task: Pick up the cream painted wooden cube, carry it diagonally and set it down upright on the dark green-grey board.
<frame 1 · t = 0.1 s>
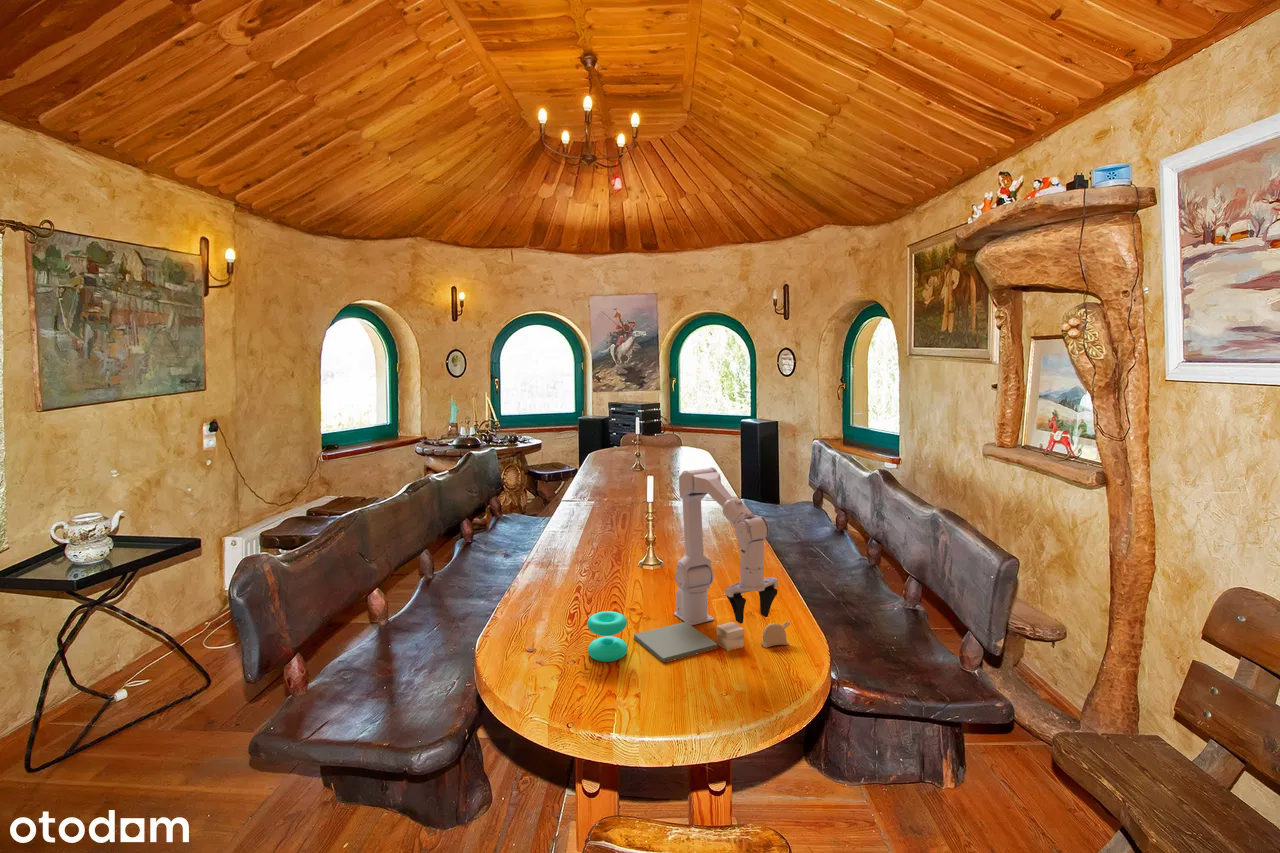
hand: (752, 618, 167), 10 cm above the table, tool pointing down, fingers open, 7 cm apart
donuts: (607, 655, 171), on the table
cream cube: (730, 645, 175), on the table
decorative ornament: (776, 644, 176), on the table
target board: (675, 643, 177), on the table
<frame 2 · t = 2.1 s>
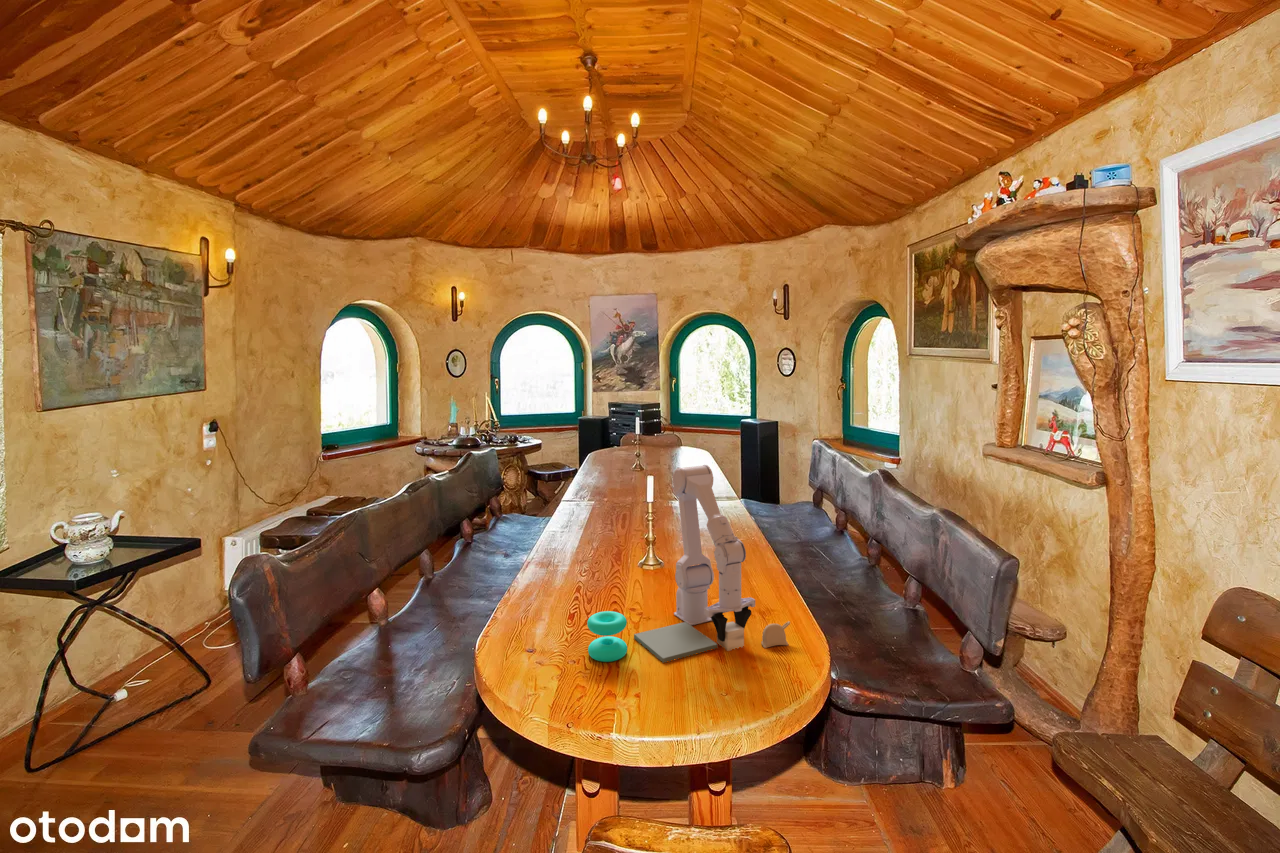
hand: (730, 637, 175), 2 cm above the table, tool pointing down, fingers closed on cream cube, 5 cm apart
cream cube: (730, 645, 175), on the table, touching gripper
everything else where it was.
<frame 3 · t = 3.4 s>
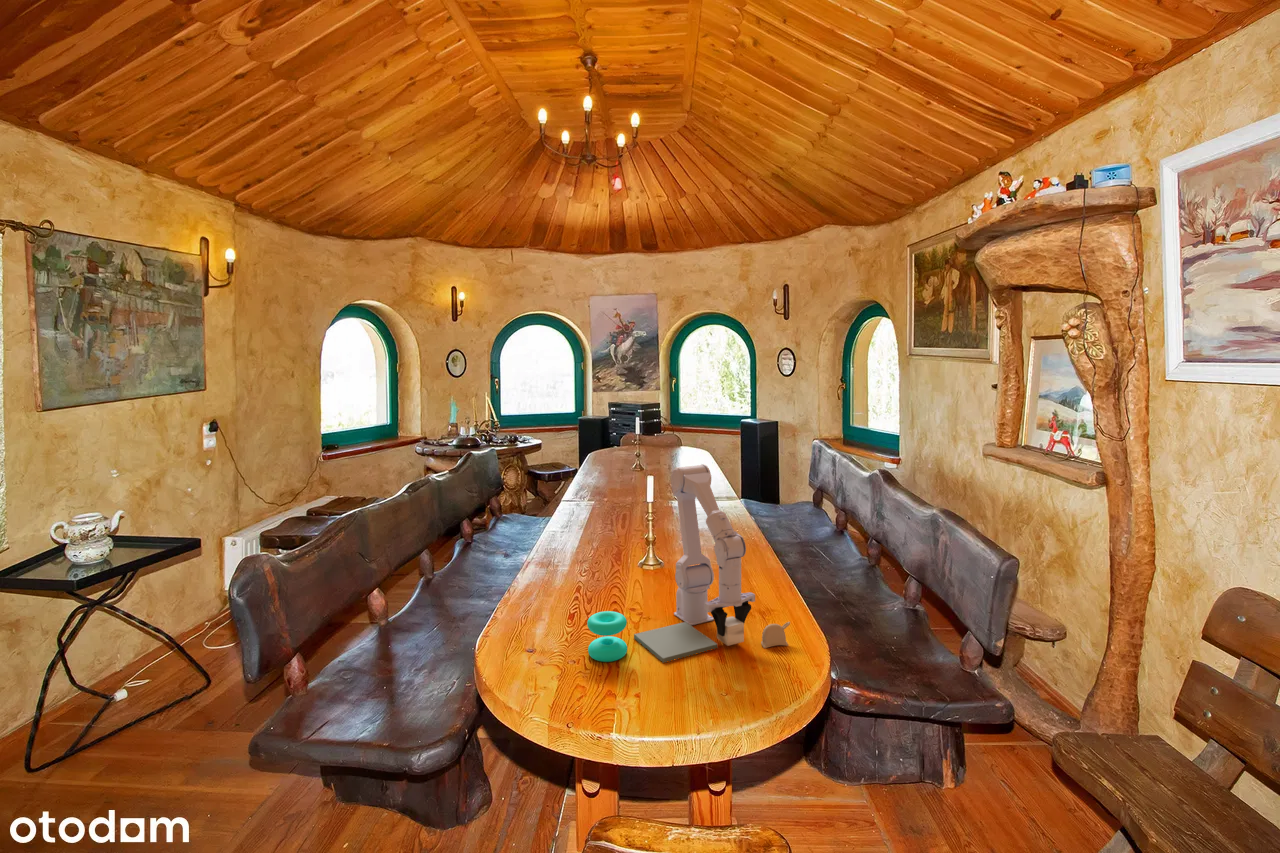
hand: (730, 632, 175), 3 cm above the table, tool pointing down, fingers closed on cream cube, 5 cm apart
cream cube: (730, 639, 175), point 1 cm above the table, touching gripper
everything else where it was.
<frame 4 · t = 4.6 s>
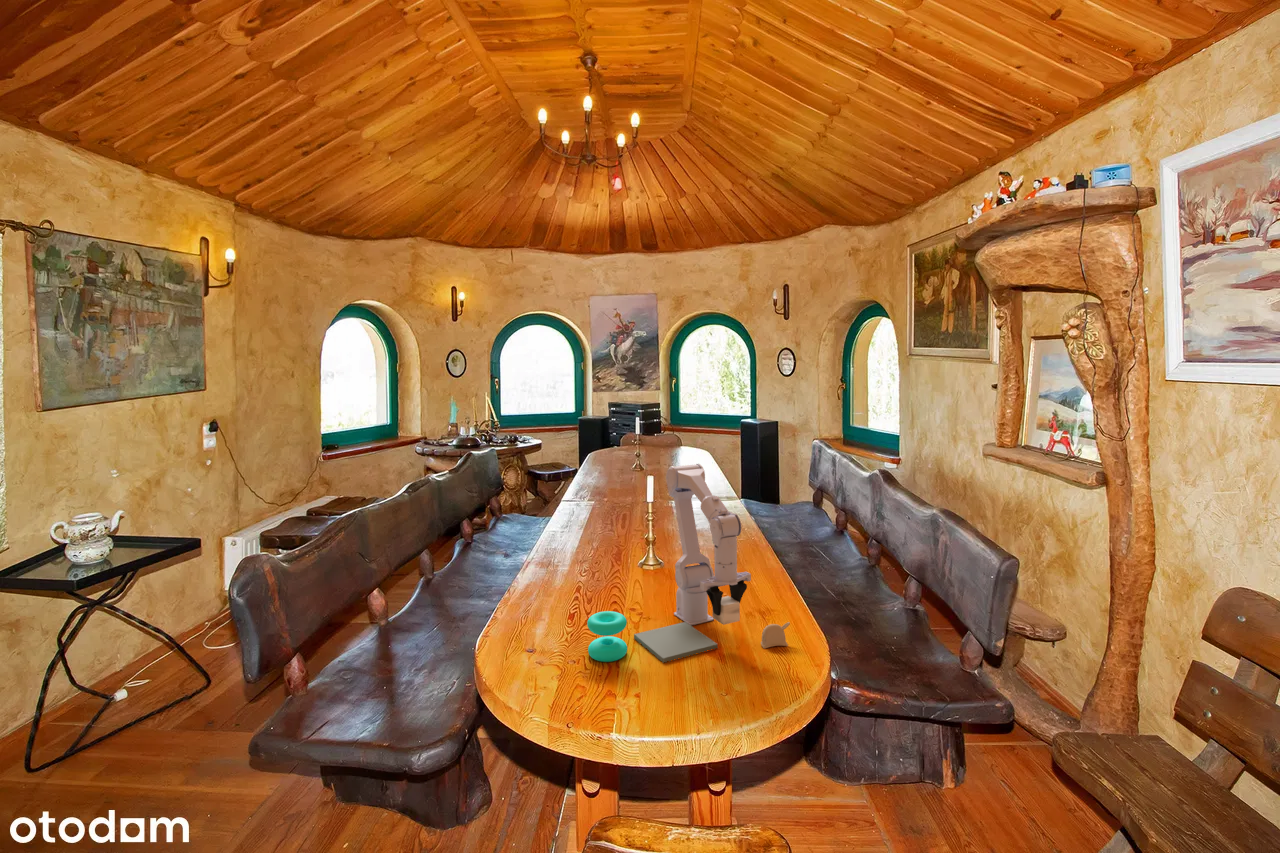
hand: (725, 611, 174), 9 cm above the table, tool pointing down, fingers closed on cream cube, 5 cm apart
cream cube: (726, 619, 175), point 7 cm above the table, touching gripper
everything else where it was.
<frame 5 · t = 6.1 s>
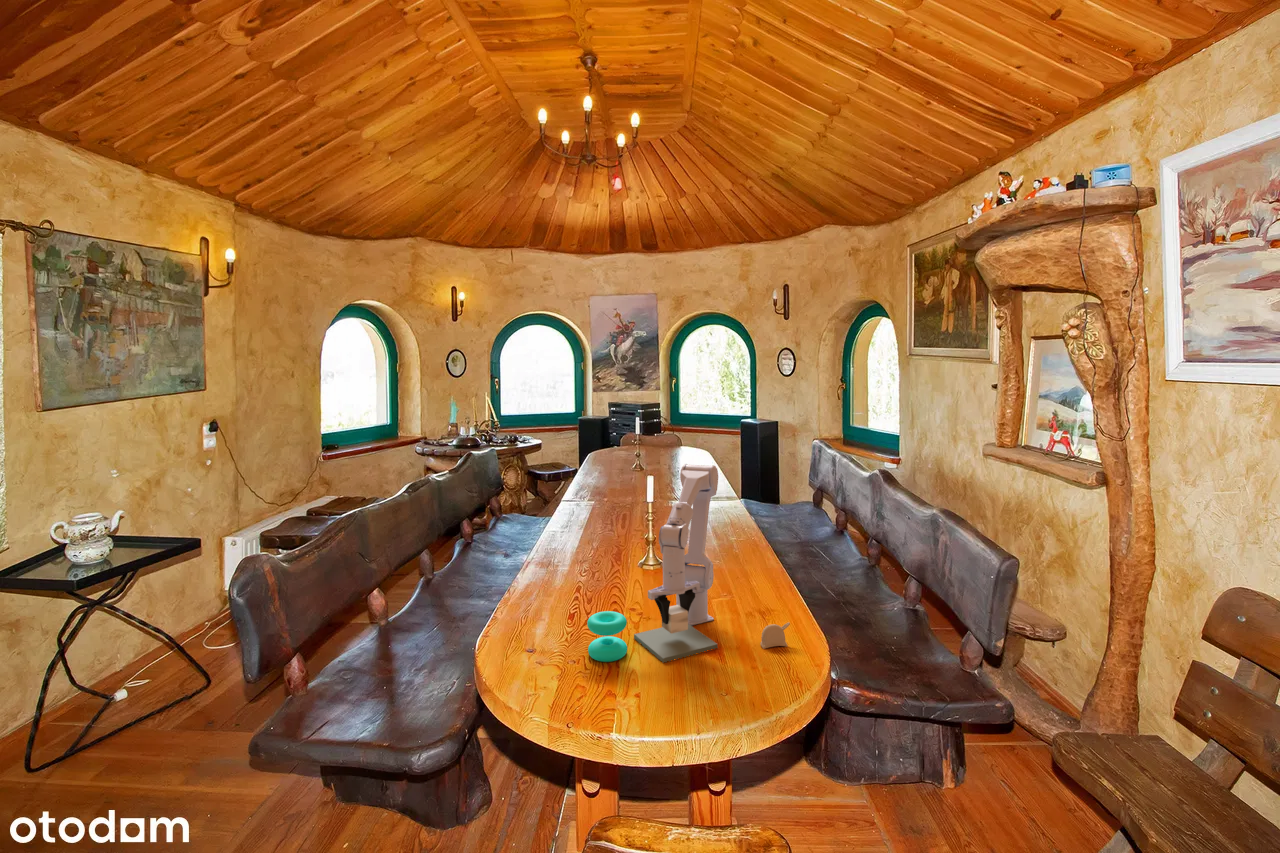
hand: (674, 620, 176), 6 cm above the table, tool pointing down, fingers closed on cream cube, 5 cm apart
cream cube: (674, 627, 176), point 4 cm above the table, touching gripper
everything else where it was.
when the fingers open (5 cm above the table, at t = 7.3 s): cream cube drops 1 cm, resting on target board.
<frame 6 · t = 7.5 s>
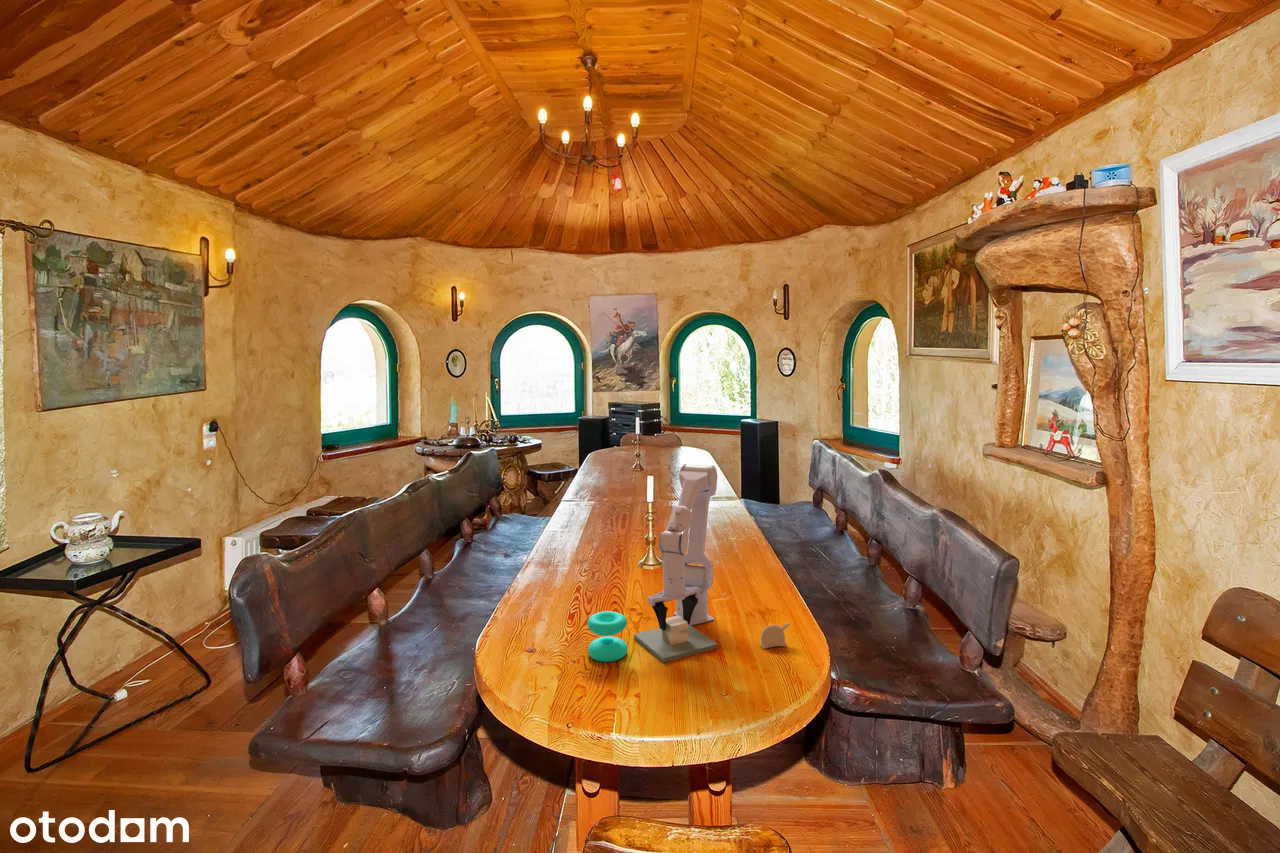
hand: (674, 626, 176), 5 cm above the table, tool pointing down, fingers open, 7 cm apart
cream cube: (674, 639, 177), point 1 cm above the table, touching target board
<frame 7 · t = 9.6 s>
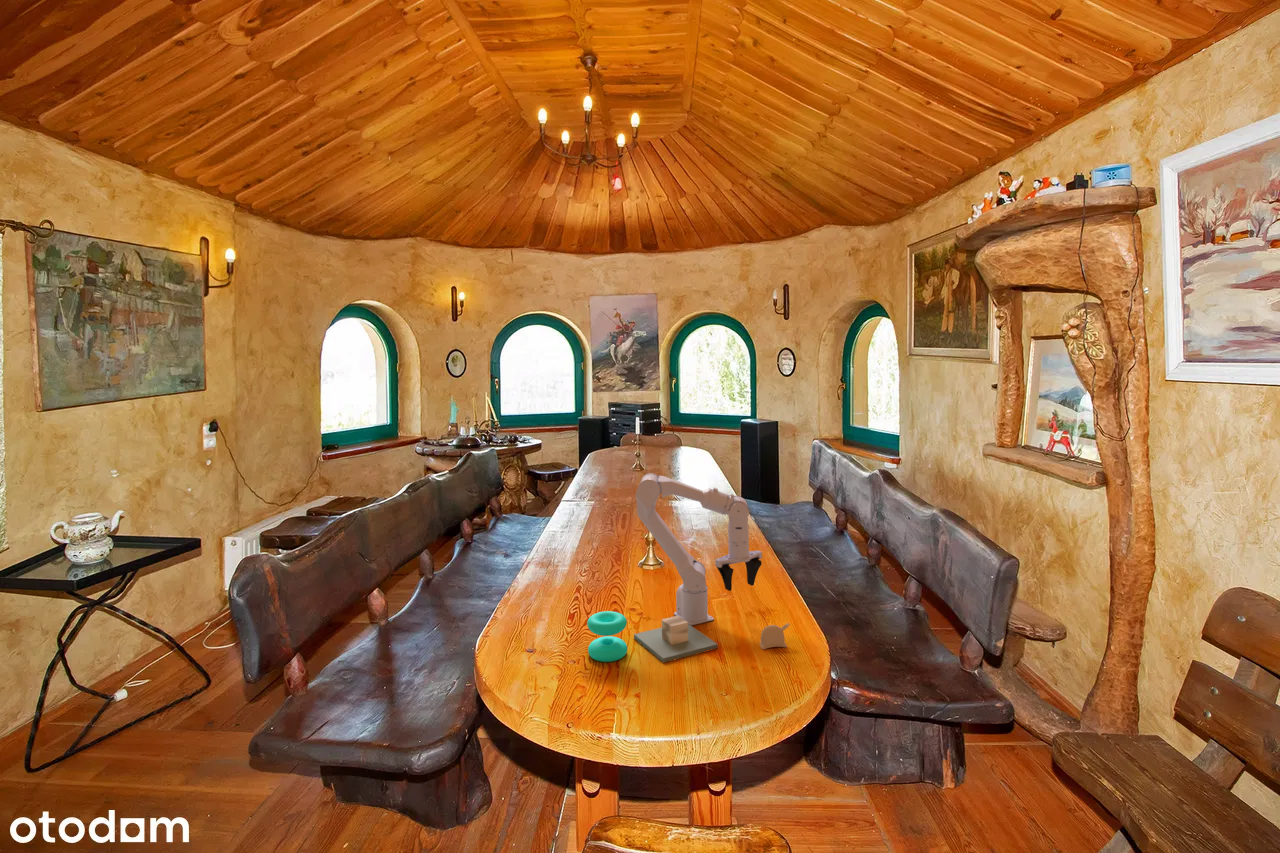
hand: (739, 587, 190), 9 cm above the table, tool pointing down, fingers open, 7 cm apart
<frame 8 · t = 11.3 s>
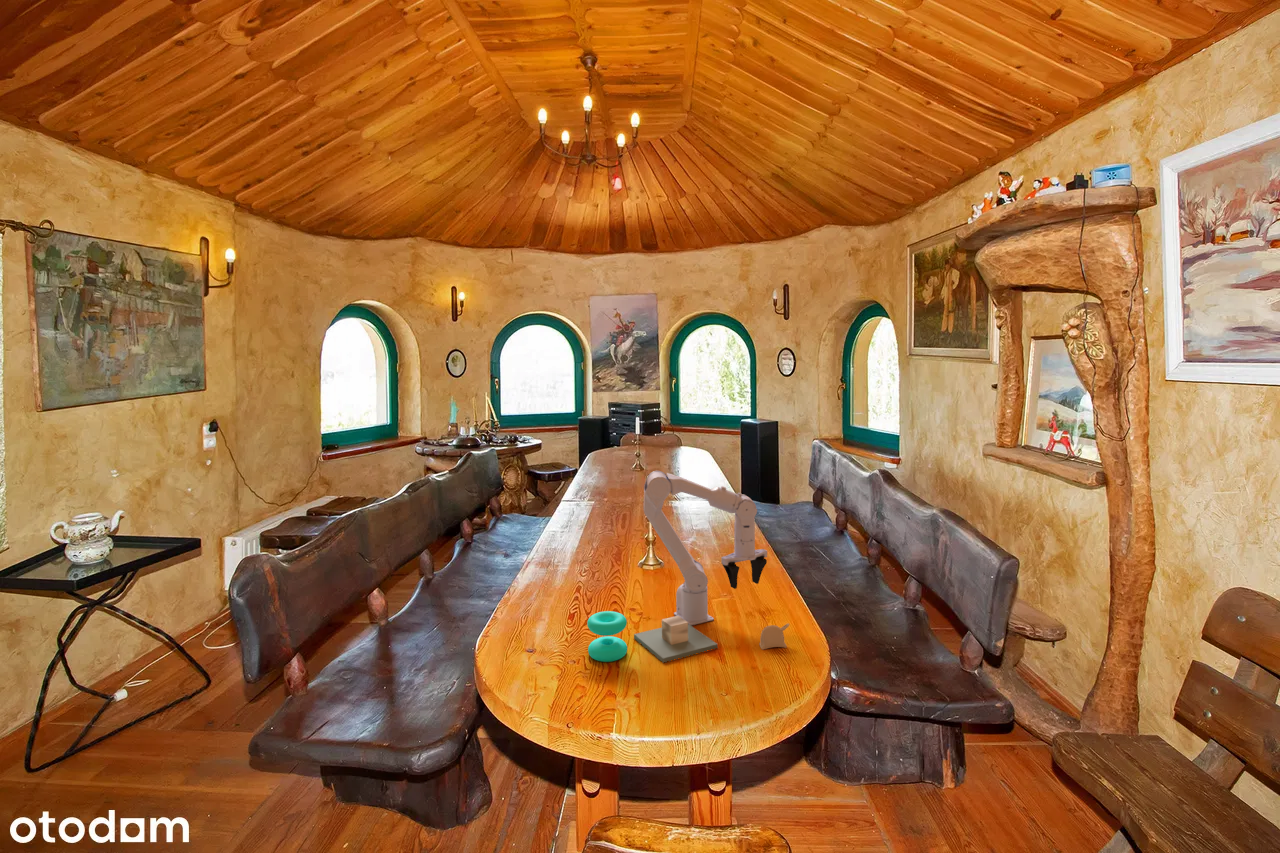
hand: (744, 585, 192), 9 cm above the table, tool pointing down, fingers open, 7 cm apart
at the end: cream cube inside the target area on the target board (0.1 cm from its centre), point 1.2 cm above the target board's base; cream cube tilted 0°; the gripper is holding nothing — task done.
